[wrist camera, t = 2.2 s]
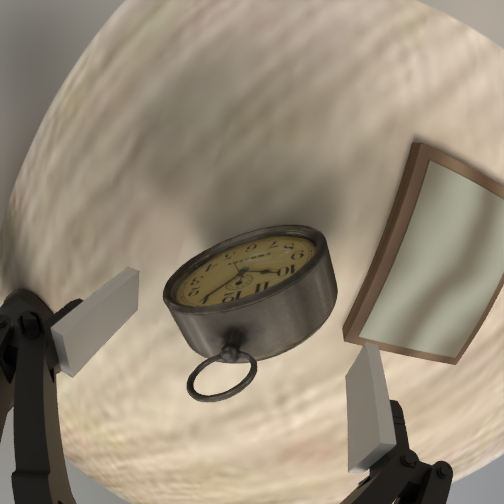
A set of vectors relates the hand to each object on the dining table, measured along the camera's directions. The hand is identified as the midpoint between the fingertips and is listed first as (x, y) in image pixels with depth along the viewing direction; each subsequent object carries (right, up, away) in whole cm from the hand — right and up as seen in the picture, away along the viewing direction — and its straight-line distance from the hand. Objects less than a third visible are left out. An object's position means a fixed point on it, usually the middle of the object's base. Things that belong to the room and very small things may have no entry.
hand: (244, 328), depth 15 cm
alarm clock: (+2, +4, +10) cm, 11 cm away
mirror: (+18, +3, +7) cm, 19 cm away
